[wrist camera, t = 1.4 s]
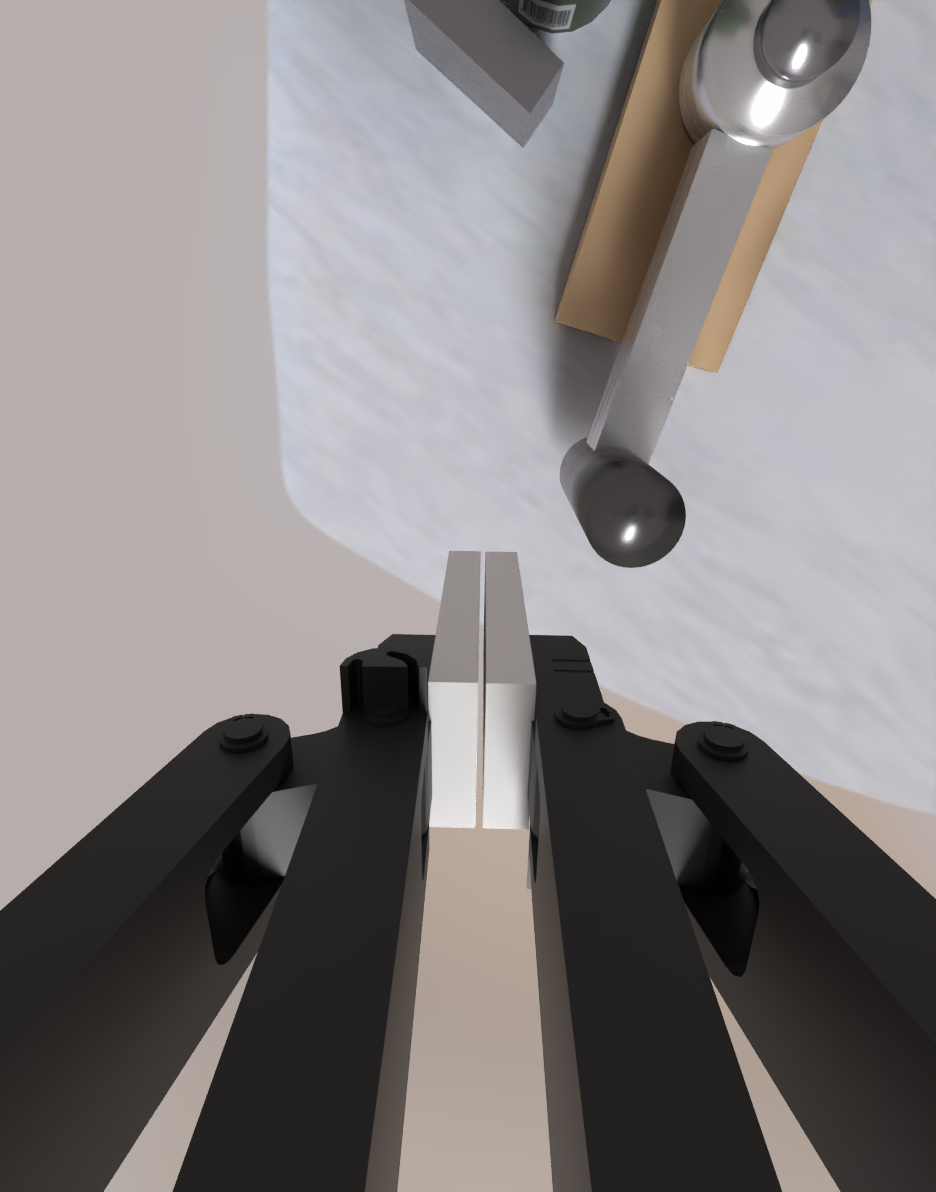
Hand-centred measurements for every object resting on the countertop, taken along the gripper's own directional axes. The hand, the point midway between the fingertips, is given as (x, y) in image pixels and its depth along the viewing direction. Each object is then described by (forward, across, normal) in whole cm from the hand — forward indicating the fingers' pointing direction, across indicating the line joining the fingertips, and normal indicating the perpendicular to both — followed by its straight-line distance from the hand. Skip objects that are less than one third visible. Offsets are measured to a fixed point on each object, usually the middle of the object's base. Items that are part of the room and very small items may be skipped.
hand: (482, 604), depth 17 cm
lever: (+17, +9, +12) cm, 23 cm away
